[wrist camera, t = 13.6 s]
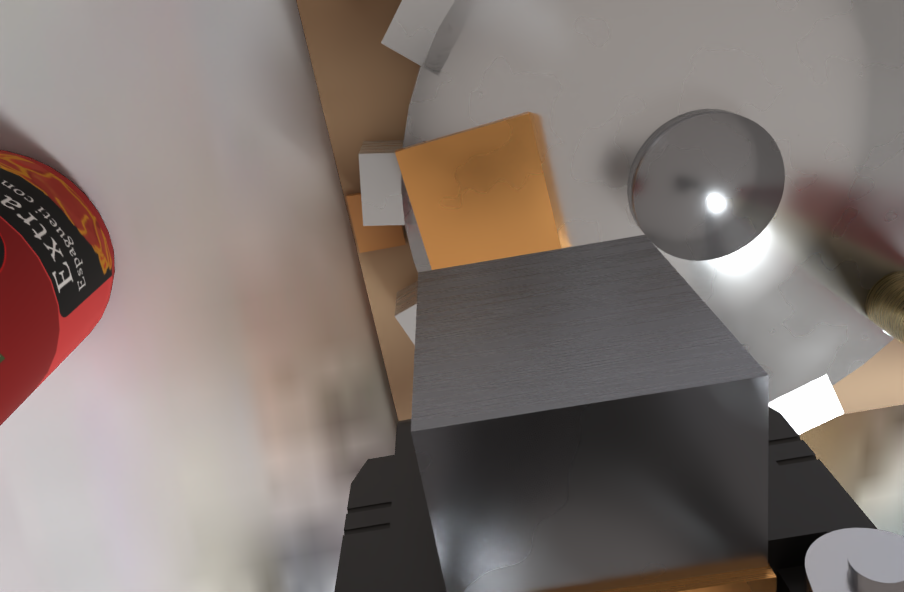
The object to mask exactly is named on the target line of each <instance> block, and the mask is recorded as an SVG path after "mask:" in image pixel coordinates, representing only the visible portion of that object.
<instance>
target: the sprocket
mask: <svg viewBox="0 0 904 592" xmlns="http://www.w3.org/2000/svg"><path fill="white" fill-rule="evenodd" d="M381 43H382V44H383V45H385V46H387V47H389V48H390V49H392V50H394V51H396V52H397V53H399V54H401V55H403V56H404V57H406V58H408V59H409V60H411V61H413V62H415V63H416V64H418V65H420V67H419V71H418V74H417V78H416V81H415V84H414V88H413V91H412V95H411V98H410V103H409V109H408V115H407V122H406V128H405V134H404V140H376V141H364V142H363V144H362V147H361V149H360V151H359V169H360V185H361V200H362V216H363V226H384V225H405V229H406V233H407V237H408V241H409V245H410V249H411V253H412V257H413V261H414V264H415V266H416V269H417V271H418V272H423V271H429V270H435V269H441V268H447V267H453V266H459V265H465V264H471V263H477V262H483V261H489V260H495V259H501V258H507V257H513V256H519V255H525V254H531V253H537V252H543V251H549V250H555V249H561V248H567V247H573V246H579V245H585V244H591V243H597V242H603V241H609V240H615V239H621V238H627V237H633V236H639V235H646V236H647V237H648V239H649V240H650V241H651V242H652V243H653V244H654V245H655V247H656V248H657V249H658V250H659V251H660V252H661V253H662V254H663V256H664V257H665V258H666V259H667V260H668V261H669V262H670V264H671V265H672V266H673V267H674V268H675V269H676V270H677V272H678V273H679V274H680V275H681V276H682V277H683V278H684V280H685V281H686V282H687V283H688V284H689V285H690V286H691V287H692V289H693V290H694V291H695V292H696V293H697V294H698V295H699V297H700V298H701V299H702V300H703V301H704V302H705V303H706V305H707V306H708V307H709V308H710V309H711V310H712V311H713V313H714V314H715V315H716V316H717V317H718V318H719V319H720V320H721V322H722V323H723V324H724V325H725V326H726V327H727V328H728V330H729V331H730V332H731V333H732V334H733V335H734V336H735V338H736V339H737V340H738V341H739V342H740V343H741V344H742V346H743V347H744V348H745V349H746V350H747V351H748V352H749V353H750V355H751V356H752V357H753V358H754V359H755V360H756V361H757V363H758V364H759V365H760V366H761V367H762V368H763V369H764V371H765V372H766V373H767V374H768V375H769V407H770V408H772V409H774V410H776V411H778V412H779V413H781V414H782V415H783V417H784V418H785V419H786V420H787V421H788V423H789V424H790V425H791V426H792V427H793V428H794V430H795V431H796V432H797V433H798V434H801V433H803V432H805V431H807V430H809V429H811V428H813V427H815V426H818V425H820V424H822V423H824V422H826V421H828V420H830V419H832V418H834V417H836V416H838V415H841V414H843V410H842V408H841V406H840V403H839V401H838V399H837V397H836V394H835V392H834V390H833V388H832V386H833V385H834V384H836V383H837V382H839V381H840V380H842V379H843V378H844V377H846V376H847V375H849V374H850V373H852V372H853V371H855V370H856V369H858V368H859V367H860V366H862V365H863V364H865V363H866V362H867V361H868V360H869V359H871V358H872V357H873V356H874V355H875V354H876V353H878V352H879V351H880V350H881V349H882V348H884V347H885V346H886V345H887V344H888V343H889V342H891V341H892V340H893V339H894V338H895V339H896V340H898V341H899V342H900V343H902V344H903V345H904V0H402V1H401V3H400V5H399V7H398V9H397V11H396V14H395V16H394V18H393V20H392V22H391V24H390V26H389V28H388V30H387V32H386V34H385V36H384V38H383V40H382V42H381ZM417 289H418V281H416V282H414V283H412V284H411V285H409V286H407V287H405V288H404V289H402V290H400V291H398V292H397V296H396V306H395V318H396V319H397V321H398V322H399V323H400V325H401V326H402V328H403V329H404V331H405V332H406V334H407V335H408V336H409V338H410V339H411V341H412V342H413V344H414V345H415V331H416V310H417Z"/></svg>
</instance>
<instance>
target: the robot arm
mask: <svg viewBox="0 0 904 592" xmlns="http://www.w3.org/2000/svg"><path fill="white" fill-rule="evenodd" d="M347 510H348V514H346V521H345V527H344V533H345V535H344V536H343V540H342V547H341V553H340V560H339V566H338V573H337V579H336V586H335V592H447V591H446V586H445V582H444V577H443V573H442V568H441V564H440V559H439V555H438V551H437V546H436V542H435V537H434V533H433V528H432V524H431V519H430V515H429V510H428V506H427V502H426V497H425V493H424V488H423V484H422V479H421V475H420V470H419V466H418V461H417V457H416V453H415V448H414V444H413V439H412V435H411V419H407V420H401V421H398V423H397V432H396V447H395V455H391V456H385V457H379V458H373V459H368V460H367V462H366V463H365V465H364V466H363V467H362V469H361V470H360V472H359V473H358V474H357V476H356V477H355V479H354V480H353V482H352V483H351V488H350V494H349V501H348V507H347ZM768 564H769V565H770V567H771V569H772V570H773V572H774V574H775V575H776V577H777V582H776V592H904V536H901V535H898V534H895V533H892V532H888V531H883V530H878V529H877V528H876V527H875V526H874V524H873V523H872V522H871V521H870V520H869V518H868V517H867V516H866V515H865V514H864V512H863V511H862V510H861V509H860V508H859V506H858V505H857V504H856V503H855V502H854V500H853V499H852V498H851V497H850V496H849V494H848V493H847V492H846V491H845V490H844V488H843V487H842V486H841V485H840V484H839V482H838V481H837V480H836V479H835V478H834V476H833V475H832V474H831V473H830V472H829V470H828V469H827V468H826V467H825V466H824V464H823V463H822V462H821V461H820V460H819V459H818V460H817V459H816V457H815V454H814V452H813V451H812V450H811V449H810V448H809V446H808V445H807V444H806V443H805V442H804V440H800V436H799V434H798V433H797V432H796V431H795V430H794V428H793V427H792V426H791V425H790V424H789V423H788V421H787V420H786V419H785V418H784V417H783V415H782V414H781V413H779V412H778V411H776V410H774V409H772V408H770V407H769V429H768Z"/></svg>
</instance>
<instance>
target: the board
mask: <svg viewBox="0 0 904 592" xmlns="http://www.w3.org/2000/svg"><path fill="white" fill-rule="evenodd" d="M401 1H402V0H296V2H297V6H298V10H299V14H300V18H301V22H302V26H303V30H304V34H305V39H306V43H307V47H308V51H309V55H310V59H311V63H312V67H313V72H314V76H315V80H316V84H317V88H318V92H319V96H320V100H321V104H322V109H323V113H324V117H325V121H326V125H327V129H328V133H329V137H330V141H331V146H332V150H333V154H334V158H335V162H336V166H337V170H338V174H339V178H340V183H341V187H342V191H343V195H344V199H345V203H346V207H347V211H348V216H349V220H350V224H351V228H352V232H353V236H354V240H355V244H356V248H357V253H358V257H359V261H360V265H361V269H362V273H363V277H364V281H365V285H366V290H367V294H368V298H369V302H370V306H371V310H372V314H373V318H374V322H375V327H376V331H377V335H378V339H379V343H380V347H381V351H382V355H383V360H384V364H385V368H386V372H387V376H388V380H389V384H390V388H391V392H392V397H393V401H394V405H395V409H396V413H397V417H398V421H401V420H407V419H411V417H412V396H413V374H414V353H415V345H414V344H413V342H412V341H411V339H410V338H409V336H408V335H407V334H406V332H405V331H404V329H403V328H402V326H401V325H400V323H399V322H398V321H397V319H396V318H395V306H396V296H397V292H398V291H400V290H402V289H404V288H405V287H407V286H409V285H411V284H412V283H414V282H416V281H418V271H417V269H416V266H415V264H414V261H413V257H412V253H411V249H410V245H409V241H408V237H407V233H406V229H405V225H384V226H363V216H362V200H361V185H360V169H359V151H360V149H361V147H362V144H363V142H364V141H376V140H404V134H405V128H406V122H407V115H408V109H409V103H410V98H411V95H412V91H413V88H414V84H415V81H416V78H417V74H418V71H419V67H420V65H418V64H416V63H415V62H413V61H411V60H409V59H408V58H406V57H404V56H403V55H401V54H399V53H397V52H396V51H394V50H392V49H390V48H389V47H387V46H385V45H383V44H382V43H381V42H382V40H383V38H384V36H385V34H386V32H387V30H388V28H389V26H390V24H391V22H392V20H393V18H394V16H395V14H396V11H397V9H398V7H399V5H400V3H401ZM832 388H833V390H834V392H835V394H836V397H837V399H838V401H839V403H840V406H841V408H842V410H843V414H848V413H854V412H860V411H866V410H872V409H878V408H884V407H890V406H896V405H902V404H904V345H903V344H902V343H900V342H899V341H898V340H896V339H895V338H894V339H893V340H892V341H891V342H889V343H888V344H887V345H886V346H885V347H884V348H882V349H881V350H880V351H879V352H878V353H876V354H875V355H874V356H873V357H872V358H871V359H869V360H868V361H867V362H866V363H865V364H863V365H862V366H860V367H859V368H858V369H856V370H855V371H853V372H852V373H850V374H849V375H847V376H846V377H844V378H843V379H842V380H840V381H839V382H837V383H836V384H834V385H833V386H832ZM841 415H842V414H841Z"/></svg>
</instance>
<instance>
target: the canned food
mask: <svg viewBox="0 0 904 592" xmlns="http://www.w3.org/2000/svg"><path fill="white" fill-rule="evenodd" d="M114 272H115V267H114V251H113V247H112V243H111V239H110V236H109V232H108V230H107V228H106V226H105V224H104V222H103V220H102V218H101V216H100V214H99V212H98V211H97V210H96V208H95V207H94V205H93V204H92V203H91V201H90V200H89V199H88V197H87V196H86V195H85V194H84V193H83V192H82V191H81V190H80V189H79V188H78V187H77V186H76V185H75V184H74V183H72V182H71V181H70V180H69V179H68V178H66V177H65V176H63V175H62V174H60V173H59V172H57V171H56V170H54V169H53V168H51V167H50V166H48V165H45V164H43V163H41V162H39V161H37V160H34V159H32V158H30V157H27V156H23V155H19V154H16V153H12V152H8V151H3V150H0V425H1V424H2V423H3V422H4V421H5V420H6V419H7V418H8V417H9V416H10V415H11V414H12V413H13V412H14V411H15V410H16V409H17V408H18V407H19V406H20V405H21V404H22V403H23V402H24V401H25V400H26V399H27V397H28V396H29V395H30V394H31V393H32V392H33V391H34V390H35V389H36V388H37V387H38V386H39V385H40V384H41V383H42V382H43V381H44V380H45V379H46V378H47V377H48V376H49V375H50V374H51V373H52V372H53V371H54V370H55V369H56V368H57V367H58V366H59V364H60V363H61V362H62V361H63V360H64V359H65V358H66V357H67V356H68V355H69V354H70V353H71V352H72V351H73V350H74V349H75V348H76V347H77V346H78V345H79V344H80V343H81V342H82V341H83V340H84V339H85V338H86V337H87V336H88V335H89V334H90V332H91V331H92V330H93V328H94V327H95V326H96V324H97V323H98V322H99V320H100V319H101V317H102V315H103V313H104V310H105V308H106V306H107V304H108V301H109V298H110V293H111V289H112V284H113V278H114Z"/></svg>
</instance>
